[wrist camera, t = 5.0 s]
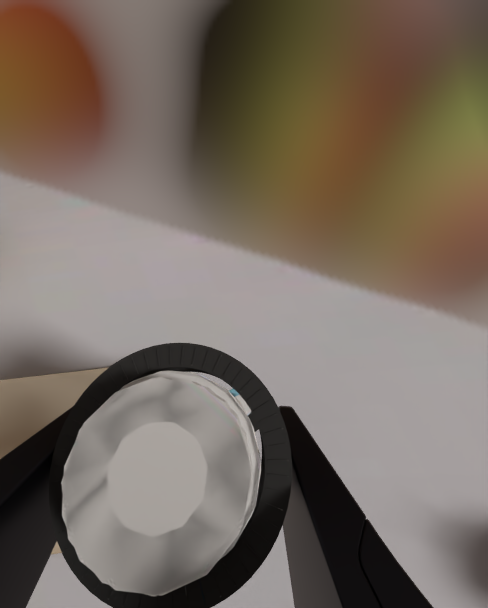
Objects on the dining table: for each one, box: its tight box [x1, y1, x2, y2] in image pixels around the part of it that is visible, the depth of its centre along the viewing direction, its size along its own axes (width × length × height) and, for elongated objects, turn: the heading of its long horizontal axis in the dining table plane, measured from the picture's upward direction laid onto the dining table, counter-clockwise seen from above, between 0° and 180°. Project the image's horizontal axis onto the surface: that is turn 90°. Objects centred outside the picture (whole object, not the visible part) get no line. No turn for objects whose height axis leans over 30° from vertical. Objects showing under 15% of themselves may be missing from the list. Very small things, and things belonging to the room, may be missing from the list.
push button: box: [49, 343, 292, 608], centre depth 10 cm, size 7×5×10 cm
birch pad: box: [0, 368, 108, 554], centre depth 18 cm, size 10×10×1 cm
